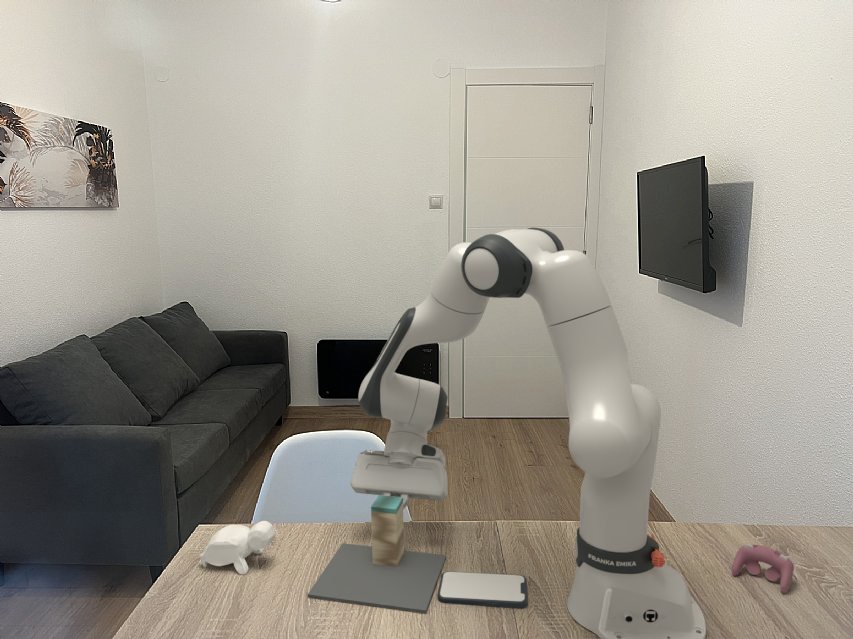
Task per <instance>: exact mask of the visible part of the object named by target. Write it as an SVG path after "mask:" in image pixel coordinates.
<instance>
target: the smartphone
mask: <svg viewBox="0 0 853 639" xmlns="http://www.w3.org/2000/svg"><path fill="white" fill-rule="evenodd" d="M527 580H528V579H527V577H526V576H524V575H521V574H508V573H507V574H506V573H485V572H468V571H467V572H465V571H444V572H441V574H440V580H439V585H438V589H437V590H438V591H437V601H438V602H439V603H442V604H449V605H450V604H452V605H465V606H476V607H477V606H478V607H491V608H505V609H520V610H521V609H522V610H523V609H526V608H527V606H528V586H527V585H528V583H527V582H528V581H527Z"/></svg>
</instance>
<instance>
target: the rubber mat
mask: <svg viewBox="0 0 853 639" xmlns="http://www.w3.org/2000/svg"><path fill="white" fill-rule="evenodd" d="M446 559H447V555H446V554H440V553H431V552H424V551H422V552H421V551H415V550H405V549H404V554H403V556H402V558H401V560H400V562H399V564H398V566H389V565H380V564H373V557H372V545H371V546H369V545H365V544H364V545H363V544H355V543H347V542H342V543H341V544H340V546H339V548H338V549H337V550H336V551H335V553H334V555H333V556H332V557H331V560H330V561H329V562H328V563H327V565H326V567H324V570H323V571H322V572H321V574H320V576H319V577H318V578H317V580H316V581H315V582H314V584H313V586H312V587H311V589H310V590H309V592H308V593H307V598H310V599H316V600H317V599H318V600H323V599H324V600H325V601H331V600H332V602H338V601H340V602H339V603H345V602H349V603H348V604H352V603H354V605H362V606H368V607H376V608H382V609H383V608H384V609H391V610H396V609H398V611H404V612H412V613H419V614H427V612H428V609H429V606H430V603H431V601H432V597H433V594H434V593H435V589H436V587H437V584H438V581H439V578H440V577H441V574H442V570H443V568H444V565H445V561H446Z"/></svg>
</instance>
